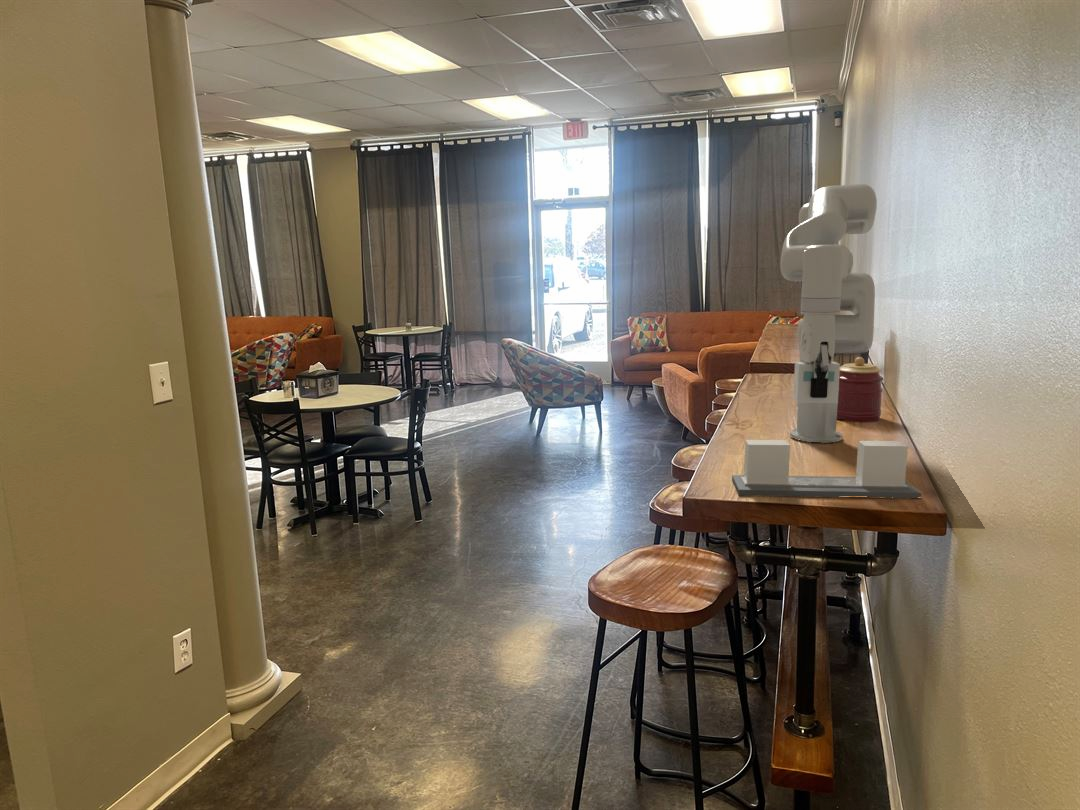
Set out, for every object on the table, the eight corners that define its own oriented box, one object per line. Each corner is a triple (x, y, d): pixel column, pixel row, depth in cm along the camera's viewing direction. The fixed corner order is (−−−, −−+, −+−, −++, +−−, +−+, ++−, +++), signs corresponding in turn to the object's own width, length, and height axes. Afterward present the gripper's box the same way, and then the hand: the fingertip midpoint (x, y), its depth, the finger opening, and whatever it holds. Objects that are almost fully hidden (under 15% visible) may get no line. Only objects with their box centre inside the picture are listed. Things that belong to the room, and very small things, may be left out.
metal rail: (741, 478, 150) (741, 476, 150) (899, 481, 146) (899, 479, 146) (744, 485, 146) (744, 484, 145) (908, 488, 142) (908, 486, 141)
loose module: (793, 399, 154) (794, 361, 152) (832, 399, 153) (834, 361, 151) (797, 402, 150) (799, 364, 148) (837, 403, 149) (840, 364, 147)
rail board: (732, 480, 153) (732, 475, 153) (902, 483, 149) (902, 477, 149) (738, 495, 144) (738, 489, 143) (920, 498, 139) (921, 492, 139)
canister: (875, 414, 214) (880, 354, 211) (885, 423, 202) (889, 360, 198) (828, 412, 217) (832, 354, 214) (835, 422, 205) (838, 359, 202)
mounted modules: (744, 477, 150) (745, 439, 148) (897, 479, 146) (900, 441, 144) (747, 483, 146) (748, 444, 144) (904, 485, 142) (907, 446, 140)
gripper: (792, 305, 156) (788, 389, 160) (810, 309, 140) (805, 402, 143) (829, 304, 155) (824, 389, 159) (851, 308, 139) (845, 402, 142)
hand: (815, 394), depth 151 cm, fingers closed on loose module, 4 cm apart
